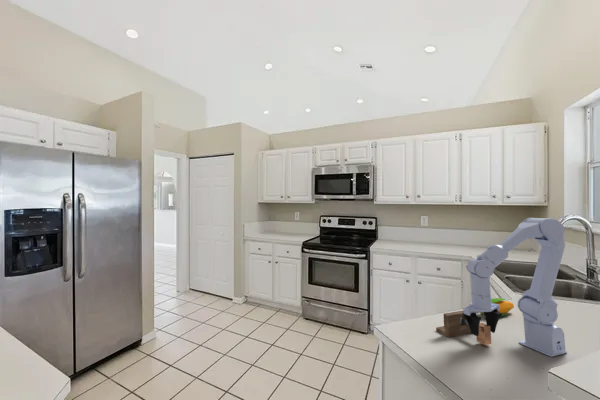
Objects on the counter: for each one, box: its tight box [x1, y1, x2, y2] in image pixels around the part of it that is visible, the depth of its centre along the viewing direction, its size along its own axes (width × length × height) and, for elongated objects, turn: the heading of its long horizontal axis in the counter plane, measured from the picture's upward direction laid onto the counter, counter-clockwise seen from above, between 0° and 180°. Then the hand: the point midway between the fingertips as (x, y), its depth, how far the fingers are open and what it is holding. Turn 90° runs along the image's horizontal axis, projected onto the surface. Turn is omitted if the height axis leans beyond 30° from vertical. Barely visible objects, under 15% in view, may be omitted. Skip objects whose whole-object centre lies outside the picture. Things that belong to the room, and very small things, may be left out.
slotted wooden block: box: [435, 310, 478, 339], centre depth 100 cm, size 6×14×8 cm, turn 106°
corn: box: [480, 297, 515, 317], centre depth 114 cm, size 7×8×20 cm
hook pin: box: [460, 318, 492, 346], centre depth 94 cm, size 13×3×6 cm, turn 16°
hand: (483, 333), depth 89 cm, fingers open, 7 cm apart
